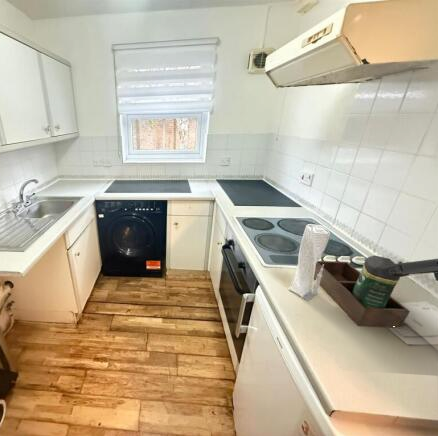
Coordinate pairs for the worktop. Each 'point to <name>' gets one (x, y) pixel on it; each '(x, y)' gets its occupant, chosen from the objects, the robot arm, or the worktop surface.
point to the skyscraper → (309, 261)
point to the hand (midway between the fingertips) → (409, 275)
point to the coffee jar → (374, 283)
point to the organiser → (341, 293)
